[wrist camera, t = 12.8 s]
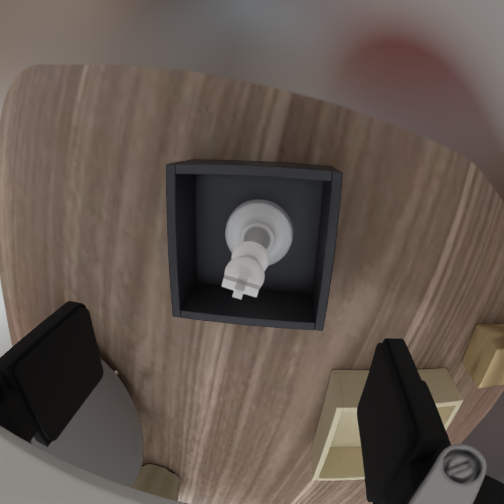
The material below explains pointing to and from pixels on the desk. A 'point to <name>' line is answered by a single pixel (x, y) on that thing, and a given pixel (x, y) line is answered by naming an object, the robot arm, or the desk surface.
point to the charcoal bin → (219, 255)
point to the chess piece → (255, 244)
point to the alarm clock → (103, 433)
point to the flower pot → (157, 482)
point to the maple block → (486, 355)
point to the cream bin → (346, 424)
